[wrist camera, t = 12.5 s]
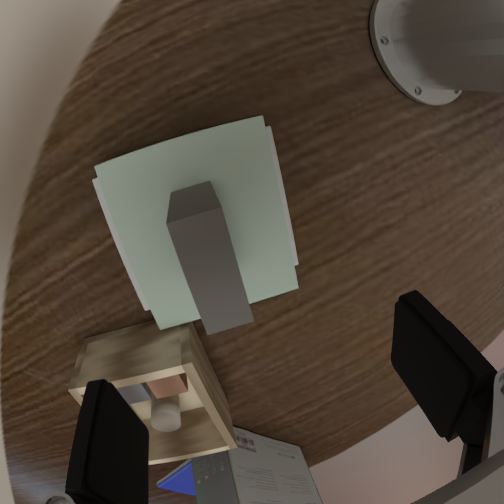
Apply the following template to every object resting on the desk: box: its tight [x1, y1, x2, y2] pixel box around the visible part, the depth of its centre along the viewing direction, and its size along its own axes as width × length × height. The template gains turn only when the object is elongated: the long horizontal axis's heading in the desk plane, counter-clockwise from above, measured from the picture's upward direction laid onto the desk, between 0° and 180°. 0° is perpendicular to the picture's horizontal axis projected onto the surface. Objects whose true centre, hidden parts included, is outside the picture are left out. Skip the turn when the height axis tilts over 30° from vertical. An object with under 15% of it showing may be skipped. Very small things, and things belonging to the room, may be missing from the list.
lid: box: [94, 116, 298, 335], centre depth 21 cm, size 12×14×9 cm
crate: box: [68, 320, 237, 465], centre depth 27 cm, size 11×13×7 cm
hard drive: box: [157, 458, 196, 496], centre depth 40 cm, size 2×8×12 cm
